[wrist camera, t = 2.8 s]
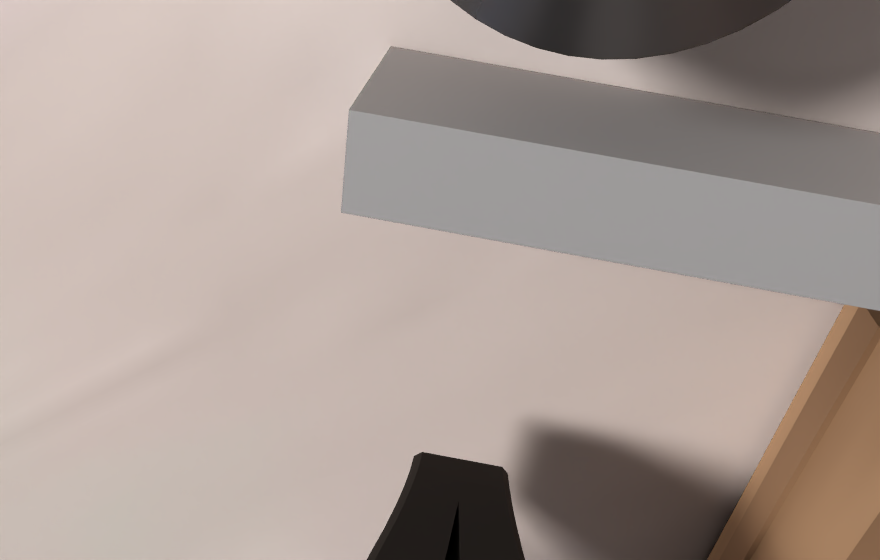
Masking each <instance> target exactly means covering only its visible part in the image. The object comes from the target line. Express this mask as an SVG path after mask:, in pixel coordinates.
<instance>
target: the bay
mask: <svg viewBox="0 0 880 560" xmlns="http://www.w3.org/2000/svg"><path fill="white" fill-rule="evenodd" d="M341 213H346V214H352V215H357V216H363V217H368V218H374V219H379V220H384V221H390V222H395V223H401V224H406V225H412V226H417V227H423V228H428V229H434V230H439V231H445V232H450V233H456V234H461V235H467V236H472V237H478V238H483V239H489V240H494V241H500V242H505V243H511V244H516V245H521V246H527V247H532V248H538V249H543V250H549V251H554V252H560V253H565V254H571V255H576V256H582V257H587V258H593V259H598V260H604V261H609V262H615V263H620V264H626V265H631V266H637V267H642V268H647V269H653V270H658V271H664V272H669V273H675V274H680V275H686V276H691V277H697V278H702V279H708V280H713V281H719V282H724V283H730V284H735V285H741V286H746V287H752V288H757V289H763V290H768V291H773V292H779V293H784V294H790V295H795V296H801V297H806V298H812V299H817V300H823V301H828V302H834V303H839V304H845V305H850V306H856V307H861V308H867V309H872V310H878V311H880V133H877V132H871V131H866V130H860V129H854V128H849V127H843V126H837V125H832V124H826V123H820V122H815V121H809V120H803V119H798V118H792V117H787V116H781V115H775V114H770V113H764V112H758V111H753V110H747V109H741V108H736V107H730V106H725V105H719V104H713V103H708V102H702V101H696V100H691V99H685V98H679V97H674V96H668V95H662V94H657V93H651V92H646V91H640V90H634V89H629V88H623V87H617V86H612V85H606V84H600V83H595V82H589V81H583V80H578V79H572V78H567V77H561V76H555V75H550V74H544V73H538V72H533V71H527V70H521V69H516V68H510V67H505V66H499V65H493V64H488V63H482V62H476V61H471V60H465V59H459V58H454V57H448V56H442V55H437V54H431V53H426V52H420V51H414V50H409V49H403V48H397V47H392V46H391V47H390V48H389V50H388V51H387V53H386V54H385V56H384V57H383V59H382V61H381V62H380V64H379V65H378V67H377V68H376V70H375V71H374V73H373V74H372V76H371V77H370V79H369V80H368V82H367V83H366V85H365V86H364V88H363V89H362V91H361V92H360V94H359V95H358V97H357V98H356V100H355V101H354V103H353V105H352V106H351V108H350V109H349V117H348V129H347V142H346V155H345V168H344V181H343V194H342V207H341Z"/></svg>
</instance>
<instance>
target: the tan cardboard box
mask: <svg viewBox="0 0 880 560" xmlns="http://www.w3.org/2000/svg"><path fill="white" fill-rule="evenodd" d="M707 560H880V311H878V310H872V309H867V308H861V307H856V306H850V305H844V306H843V308H842V310H841V312H840V314H839V316H838V318H837V319H836V321H835V323H834V325H833V327H832V329H831V331H830V332H829V334H828V336H827V338H826V340H825V342H824V344H823V345H822V347H821V349H820V351H819V353H818V355H817V357H816V358H815V360H814V362H813V364H812V366H811V368H810V370H809V371H808V373H807V375H806V377H805V379H804V381H803V383H802V384H801V386H800V388H799V390H798V392H797V394H796V395H795V397H794V399H793V401H792V403H791V405H790V407H789V408H788V410H787V412H786V414H785V416H784V418H783V420H782V421H781V423H780V425H779V427H778V429H777V431H776V433H775V434H774V436H773V438H772V440H771V442H770V444H769V446H768V447H767V449H766V451H765V453H764V455H763V457H762V459H761V460H760V462H759V464H758V466H757V468H756V470H755V472H754V473H753V475H752V477H751V479H750V481H749V483H748V485H747V486H746V488H745V490H744V492H743V494H742V496H741V498H740V499H739V501H738V503H737V505H736V507H735V509H734V511H733V512H732V514H731V516H730V518H729V520H728V522H727V524H726V525H725V527H724V529H723V531H722V533H721V535H720V537H719V538H718V540H717V542H716V544H715V546H714V548H713V550H712V551H711V553H710V555H709V557H708V559H707Z"/></svg>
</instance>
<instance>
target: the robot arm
mask: <svg viewBox="0 0 880 560" xmlns="http://www.w3.org/2000/svg"><path fill="white" fill-rule="evenodd" d="M367 560H525V558H524V554H523V551H522V547H521V542H520V538H519V534H518V530H517V526H516V521H515V517H514V512H513V507H512V501H511V495H510V489H509V481H508V474H507V472H506V471H505V470H504V469H503V467H499V466H494V465H489V464H483V463H478V462H473V461H467V460H462V459H457V458H451V457H446V456H440V455H435V454H430V453H424V452H422V453H420V454H417V455H415V456H414V458H413V462H412V466H411V469H410V472H409V475H408V478H407V480H406V483H405V486H404V488H403V490H402V493H401V495H400V497H399V500H398V502H397V504H396V506H395V508H394V510H393V512H392V514H391V516H390V518H389V520H388V522H387V524H386V526H385V528H384V530H383V532H382V533H381V535H380V537H379V539H378V541H377V542H376V544H375V546H374V548H373V549H372V551H371V553H370V555H369V557H368V558H367Z"/></svg>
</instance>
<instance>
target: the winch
mask: <svg viewBox="0 0 880 560" xmlns="http://www.w3.org/2000/svg"><path fill="white" fill-rule="evenodd" d="M451 1H452V2H454V3H455V4H456V5H458V6H459V7H460V8H462V9H463V10H464V11H466V12H467V13H468V14H470V15H471V16H472V17H474V18H475V19H476V20H478V21H480V22H482V23H484V24H485V25H487V26H489V27H491V28H493V29H494V30H496V31H498V32H500V33H501V34H503V35H505V36H508V37H510V38H513V39H515V40H518V41H520V42H523V43H525V44H528V45H530V46H533V47H535V48H539V49H543V50H547V51H551V52H555V53H559V54H563V55H567V56H575V57H584V58H593V59H638V58H644V57H651V56H658V55H664V54H671V53H675V52H679V51H682V50H686V49H689V48H693V47H697V46H700V45H704V44H707V43H710V42H712V41H715V40H717V39H719V38H722V37H724V36H727V35H729V34H732V33H734V32H737V31H739V30H741V29H743V28H745V27H747V26H749V25H751V24H753V23H754V22H756V21H758V20H760V19H762V18H764V17H765V16H767V15H769V14H771V13H773V12H775V11H776V10H778V9H779V8H781V7H782V6H784V5H785V4H787V3H788V2H789V1H791V0H451Z"/></svg>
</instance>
